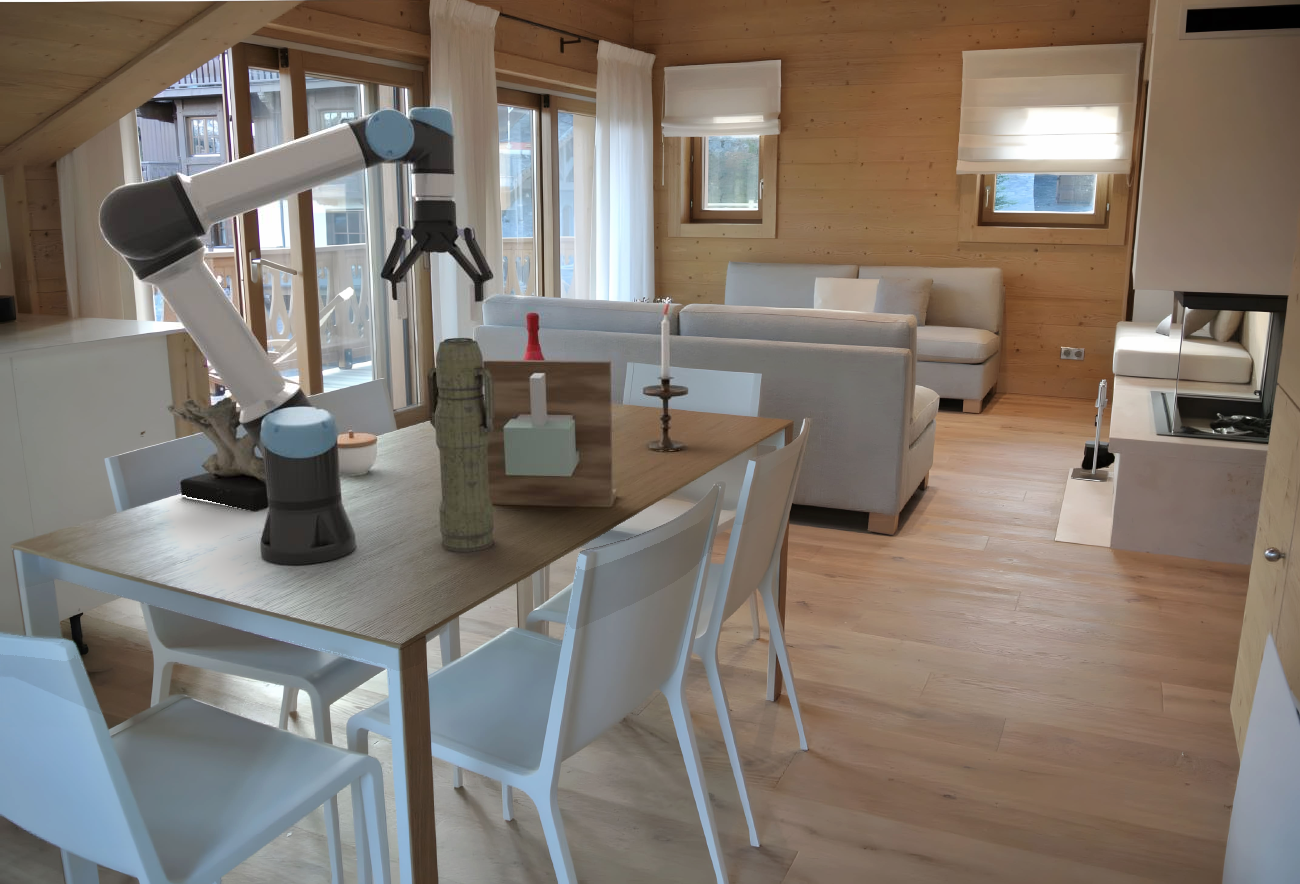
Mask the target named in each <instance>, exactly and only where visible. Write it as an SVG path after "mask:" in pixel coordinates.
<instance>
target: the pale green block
mask: <svg viewBox="0 0 1300 884" xmlns="http://www.w3.org/2000/svg"><path fill="white" fill-rule="evenodd" d="M530 398H531V414H520V415H519V417H518V418H517V419H511V420H510V421H509V422H508V423H507V424H506V425H505V426H504V427H503V430H504V448H505V467H506V475H535V476H571V475H572V473H573V471H574V469H575V468H576V466H577V464H578V462H579V451H576V444H575V420H573V415H547V408H546V383H545V373H534V374H533V375H532V376H531V377H530Z"/></svg>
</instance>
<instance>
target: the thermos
mask: <svg viewBox="0 0 1300 884" xmlns="http://www.w3.org/2000/svg"><path fill="white" fill-rule="evenodd" d="M435 355H436V356H435V367H432V368H430V370H429V372H428V374H427V376H426V377H427V389H428V402H429V419H430V421H429V423H430V424H431V425H432V427H433V428H434V429H435V443H436V446H437V448H438V450H439V465H440V468H439V469H440V485H441V486H440V487H441V500H440V501H441V502H440V505H439V508H438V511H439V514H438V515H439V530H440V531H439V532H440V533H441V546H442V549H445V550H447V551H450V552H456V553H471V552H478V551H482V550H483V551H484V550H485V549H488V548H490V547H491V546H493V545H494V537H493V531H494V528H495V527H494V504H492V503H491V500H490V498H489V480H488V455H487V447H488V445H489V442H490V434H489V432H492V431H494V418H495V415H494V389H493V376H492V375H491V373H490V372H489V370H488V369H485V368H484V367H483V361H484V359H483V358H484V357H483V354H482V351H481V349H480V346H479V343H478V341H477V340H474V339H473V338H468V337H453V338H446V339H443V341H440V342H439V344H438V348H437V352H436V354H435ZM484 379H485V393H484ZM485 400H486V404H485Z"/></svg>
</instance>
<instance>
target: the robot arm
mask: <svg viewBox="0 0 1300 884" xmlns="http://www.w3.org/2000/svg"><path fill="white" fill-rule="evenodd" d="M453 123H454V122H453V115H452V114H451V112H450V111H449V110H448V109H446V108H441V107H430V106H427V107H424V106H421V107H420V106H419V107H418V106H417V107H412V108H410V109H409V111H408V116H407V115H405V113H403V112H402V111H399V110H397V109H394V108H386V107H385V108H381V109H378V110H375V111H373V112H372V113H370V114H367V115H364V116H359V115H355V116H344V117H341V118H340V120H339V121H338V124H337V125H334V126H332V127H329V128H326V129H323V130H320V131H317V132H315V133H311V134H308V135H306V136H303V137H300V138H297V139H294V140H291V141H289V142H286V143H283V144H280V145H276V146H275V147H271V148H268V149H266V150H263V151H260V152H259V151H258V152H256V153H254V154H251V155H248V156H245V157H243V158H240V159H239V158H238V159H236V160H232V161H231V162H227V163H225V164H221V165H218V166H216V167H212V168H210V169H207V170H204V171H201V172H198V173H195V174H193V175H190V176H189V175H188V176H187V175H185V174H182V173H180V172H176V173H174V174H171V175H168V176H165V177H161V178H157V179H153V180H148V181H141V182H132V183H126V184H123V185H120V186H118V187H115V189H113V190H112V191H110V192H109V193H108V194H107V195H106V197H104V199H103V201H102V203H101V205H100V207H99V211H98V225H99V230H100V233H101V234H102V236H103V238H104V240H105V241H106V243H108V245H109V246H110V247H111V248H112V249H113V250H114V251H115V252H117V253H118V254H120V255H121V257H122V258H123V259H124V261H125V262H126V263H127V265H128V266H129V268H130V269H131V271H132V272H133V273H134V275H135V276H136V277H137V279H138V280H139V282H140V283H143V284H147V285H150V286H153V287H155V288H156V289H157V290H158V292H159V293H160V295H161V296H162V298H163V299H164V300H165V301H166V303H167V305H168V306H169V308H170V309H171V310H172V312H173V313H174V315H175V316H176V317H177V319H178V320H179V321H180V323H181V324H182V326H183V328H184V329H185V330H186V332H187V333H188V335H189V336H190V338H191V339H192V340H193V341H194V343H195V344H196V346H197V347H198V348H199V350H200V351H201V353H202V355H203V356H204V357H205V359H206V360H207V361H208V363H209V364H210V366H211V367H212V368H213V370H214V371H215V373H216V374H217V376H218V377H219V378H220V380H221V382H223V384H224V385H225V387H226V389H227V390H228V392H229V393H230V394H231V396H232V397H233V399H234V400H235V401H236V402H237V404H238V405H239V407H240V409H241V413H240V418H239V421H240V423H241V424H240V425H242V427H243V429H244V430H245V432H247V433H246V434H249V436H250V437H251V439H252V440H253V441H254V443H255V444H256V447H257V448H258V450H259V452H260V453H261V456H262V458H263V460H264V467H265V477H266V488H267V499H268V508H267V513H266V514H267V515H266V518H265V523H264V526H263V529H262V533H261V538H260V542H259V544H260V556H261V558H262V559H263V560H265V561H267V562H268V563H274V564H279V565H295V566H296V565H310V564H316V563H323V562H328V561H332V560H335V559H338V558H342V557H343V556H346V555H348V554H350V553H352V552H353V551H354V550H355V548H357V543H356V532H355V530H354V528H353V526H352V523H351V520H350V518H349V515H348V514H347V512H346V509H345V507H344V504H343V499H342V488H341V487H342V484H341V475H340V470H339V457H338V444H337V438H338V435H339V430H338V427H337V424H336V419H335V416H334V415H333V414H332V412H329V411H327V410H325V409H322V408H320V409H319V408H317V407H315V406H313V404H312V403H311V401H310V400H309V399H308V396H307V395H306V394H305V393H304V391H303V390H302V388H301V386H300V385H299V384H296V383H290V382H287V381H286V380H285V379H284V377H283V375H282V373H280V371H279V370H278V368H277V367H276V365H275V364H274V362H273V361H272V359H271V358H270V357H269V354H267V352H266V351H265V349H264V348H263V346H262V345H261V343H260V342H259V340H258V339H257V336H255V334H254V333H253V331H252V329H250V327H249V325H248V324H247V322H246V321H245V320H244V318H243V316H242V315H241V313H240V312H239V310H238V309H237V308H236V306H235V305H234V303H233V302H232V300H231V299H230V297H229V296H228V294H227V293H226V291H225V290H224V288H223V287H222V286H221V284H220V282H219V281H218V279H217V278H216V276H215V275H214V274H213V273H214V272H212V271H211V270H210V268H209V266H208V265H207V263H206V262H205V253H206V249H207V247H206V245H205V243H204V242H203V241H202V238H201V237H203V236H206V235H208V234H209V233H210V231H211V228H212V226H214V225H215V224H219V223H221V222H224V221H226V220H229V219H232V218H234V217H237V216H240V215H242V214H246V213H248V212H251V211H254V210H256V209H260V208H262V207H264V206H268V205H271V204H273V203H276V202H278V201H281V200H285V199H286V198H289V197H293V196H294V195H295V196H296V195H297V194H300V193H303V192H306V191H308V190H311V189H315V188H316V187H319V186H323V185H325V184H328V183H331V182H333V181H336V180H339V179H341V178H345V177H347V176H350V175H352V174H355V173H358V172H361V171H363V170H366V169H370V168H373V167H375V166H378V165H380V164H402V165H410V168H411V169H410V171H411V173H410V174H411V195H412V197H413V198H415V200H413V202H412V215H413V216H412V218H413V219H412V220H413V227H412V228H409V227H406V226H397V227H396V229H395V239H394V242H393V244H392V247H391V249H390V252H389V254H388V256H387V259H386V261H385V263H384V265H383V268H382V270H381V273H380V277H381V279H382V280H383V279H384V280H387V281H390V284H391V297H392V300H393V301H396V304H397V320H404V319H408V303H407V300H408V299H407V282H405V281H403V279H404V277H405V276H406V275H407V274H408V272H409V271H410V270H411V269H412V267H413V265H414V264H415V263H416V261H418V260H419V258H420V256H421V255H423V254H424V252H425V253H427V254H428V253H429V254H430V253H438V254H445V253H448V254H449V255H450V256H452V258H453V259H454V260H455V261H456V263H457V264H458V265H459V266H460V268H462V269H463V271H464V272H465V273H466V274H467V275H468V277H469V278H470V279H471V280H472V282H473V283H469V305H470V307H469V309H470V312H469V313H470V321H473V322H475V321H478V320H480V304H479V302H480V303H481V302H483V301H484V298H485V297H484V294H485V293H484V284H485V283H486V282H487V281H490V280H493V279H494V273H493V272H492V270H491V268H490V266H489V264H488V261H487V260H486V257H485V255H484V254H483V252H482V250H481V247H480V246H479V244H478V242H477V240H476V233H475V229H474V227H469V226H468V227H464V228H458V226H457V205H456V202H455V201H453V198H455V197H456V177H455V176H456V175H455V149H454V148H455V147H454V146H455V144H454V143H455V142H454V139H455V134H454V127H453V126H454V125H453ZM459 236H460V237H461V239H462V241H465V244H466V246H467V248H468V250H469V252H470V254H471V257H472V258H473V260H474V262H475V264H476V267H477V268H478V269H476V267H475V266H474V265H473V263H472V262H471V261H470V260H469V259H468V257H467V256H466V255H465V254H464V253H463V251H462V250H461V248H460V247H459V246H458V244H457V243H456V241H457V239H458V237H459ZM410 237H413V239H414V241H416V242H415V244H414V245H413V247H412V248H411V251H409V253H408V254H407V255H406V257H405V258H404V259H403V261H402V262H401V263H400V265H399V266H398V267H397V265H398V263H399V261H400V257H401V255H402V254H403V251H404V250H405V249H404V248H405V247H406V244H407V240H410ZM396 267H397V268H396ZM395 269H396V270H395ZM478 270H479V271H478Z"/></svg>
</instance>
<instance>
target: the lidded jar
mask: <svg viewBox="0 0 1300 884" xmlns="http://www.w3.org/2000/svg"><path fill="white" fill-rule="evenodd" d="M337 444H338V457H339V470H340V476H345V477H356V476H358V477H359V476H362V475H365V474H367V473H369V471H370V470H371V468H372V467H373V466H374V464H375V463H376V460H377V454H378V437H377V436H376V435H375V434H372V433H363V432H359V433H358V432H354V430H348V433H343V434H338V438H337Z"/></svg>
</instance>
